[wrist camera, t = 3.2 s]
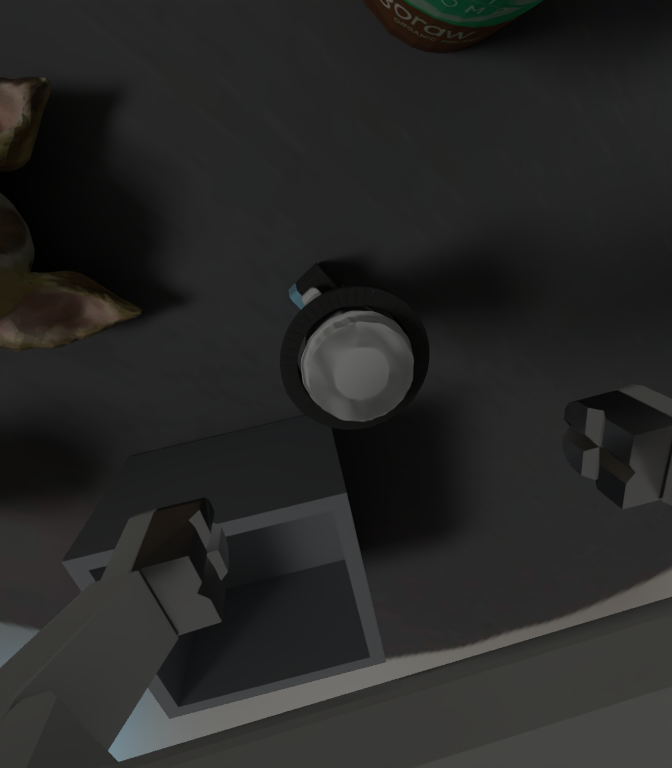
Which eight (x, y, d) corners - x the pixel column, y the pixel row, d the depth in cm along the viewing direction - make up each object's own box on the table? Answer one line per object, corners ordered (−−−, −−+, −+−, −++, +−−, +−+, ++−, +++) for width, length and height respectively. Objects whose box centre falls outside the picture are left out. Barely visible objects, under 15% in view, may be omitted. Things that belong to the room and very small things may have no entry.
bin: (327, 410, 24) (346, 492, 17) (360, 552, 30) (385, 662, 22) (128, 456, 24) (61, 561, 17) (197, 592, 29) (169, 718, 22)
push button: (407, 326, 23) (489, 398, 14) (340, 385, 24) (376, 489, 15) (331, 237, 20) (371, 254, 11) (260, 307, 21) (244, 374, 12)
